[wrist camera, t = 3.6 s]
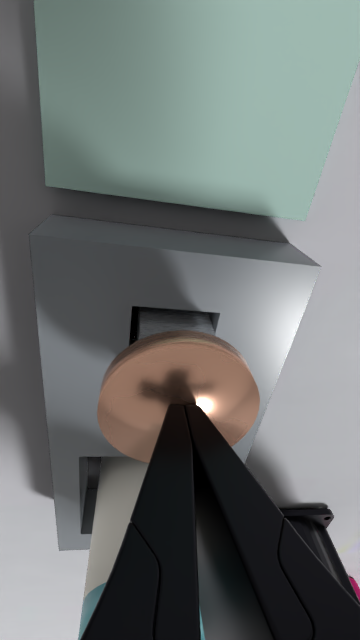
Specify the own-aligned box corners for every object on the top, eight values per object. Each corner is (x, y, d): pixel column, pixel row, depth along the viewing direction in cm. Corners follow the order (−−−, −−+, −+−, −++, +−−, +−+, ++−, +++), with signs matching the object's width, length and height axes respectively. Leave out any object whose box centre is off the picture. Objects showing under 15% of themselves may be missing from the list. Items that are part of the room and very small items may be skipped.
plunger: (228, 269, 13) (280, 353, 8) (207, 357, 15) (238, 465, 10) (116, 258, 12) (98, 342, 7) (112, 351, 14) (95, 465, 9)
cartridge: (196, 425, 17) (230, 617, 10) (182, 480, 20) (203, 664, 13) (103, 423, 16) (74, 630, 10) (101, 481, 19) (77, 677, 12)
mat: (404, -105, 8) (419, -119, 7) (299, 217, 12) (305, 221, 11) (25, -233, 6) (16, -259, 6) (49, 183, 10) (45, 185, 10)
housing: (291, 243, 12) (321, 266, 10) (206, 502, 21) (213, 544, 19) (51, 214, 11) (28, 234, 9) (68, 505, 20) (59, 550, 18)
